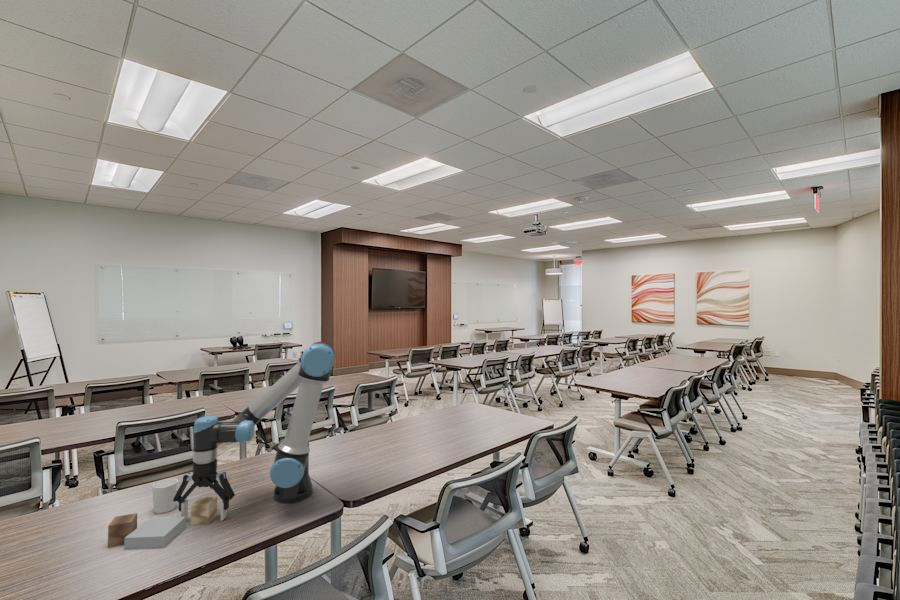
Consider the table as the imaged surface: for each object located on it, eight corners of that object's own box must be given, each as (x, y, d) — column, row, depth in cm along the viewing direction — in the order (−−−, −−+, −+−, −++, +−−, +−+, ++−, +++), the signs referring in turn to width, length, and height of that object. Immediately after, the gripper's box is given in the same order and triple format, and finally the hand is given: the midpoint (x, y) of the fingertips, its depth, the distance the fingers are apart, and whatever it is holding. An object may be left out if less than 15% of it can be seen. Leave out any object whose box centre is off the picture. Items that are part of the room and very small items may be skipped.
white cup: (164, 515, 145) (164, 488, 145) (146, 513, 147) (147, 486, 147) (182, 505, 153) (183, 479, 153) (165, 503, 154) (166, 477, 154)
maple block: (216, 515, 145) (217, 496, 146) (208, 524, 139) (208, 504, 140) (200, 516, 145) (200, 497, 145) (190, 525, 139) (191, 505, 139)
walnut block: (136, 533, 134) (137, 513, 134) (131, 543, 128) (131, 521, 128) (114, 537, 131) (115, 516, 131) (107, 547, 126) (108, 525, 126)
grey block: (185, 528, 138) (186, 516, 138) (163, 548, 126) (164, 536, 126) (150, 529, 137) (150, 517, 137) (124, 550, 125) (124, 537, 125)
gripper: (245, 455, 147) (244, 512, 147) (175, 457, 145) (174, 514, 145) (235, 463, 140) (234, 523, 139) (162, 465, 138) (160, 526, 137)
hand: (203, 519), depth 142 cm, fingers open, 13 cm apart
